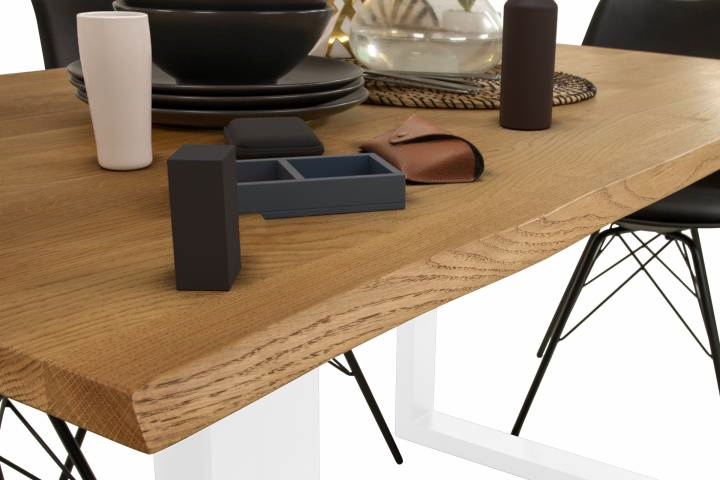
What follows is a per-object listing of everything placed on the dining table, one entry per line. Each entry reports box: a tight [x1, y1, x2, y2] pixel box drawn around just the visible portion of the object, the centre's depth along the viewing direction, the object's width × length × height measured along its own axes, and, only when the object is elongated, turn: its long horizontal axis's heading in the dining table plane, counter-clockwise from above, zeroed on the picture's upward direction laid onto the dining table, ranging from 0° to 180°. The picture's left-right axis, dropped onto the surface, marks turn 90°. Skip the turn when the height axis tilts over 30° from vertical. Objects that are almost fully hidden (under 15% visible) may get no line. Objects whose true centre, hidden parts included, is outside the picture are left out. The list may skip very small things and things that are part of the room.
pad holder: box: [236, 152, 406, 220], centre depth 90 cm, size 10×18×3 cm, turn 111°
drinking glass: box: [76, 11, 154, 171], centre depth 100 cm, size 7×7×15 cm
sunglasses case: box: [357, 112, 485, 185], centre depth 106 cm, size 18×7×7 cm, turn 22°
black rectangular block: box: [166, 143, 242, 291], centre depth 69 cm, size 4×5×9 cm
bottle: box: [498, 0, 559, 131], centre depth 126 cm, size 7×7×20 cm
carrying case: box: [219, 116, 325, 160], centre depth 109 cm, size 11×3×15 cm
